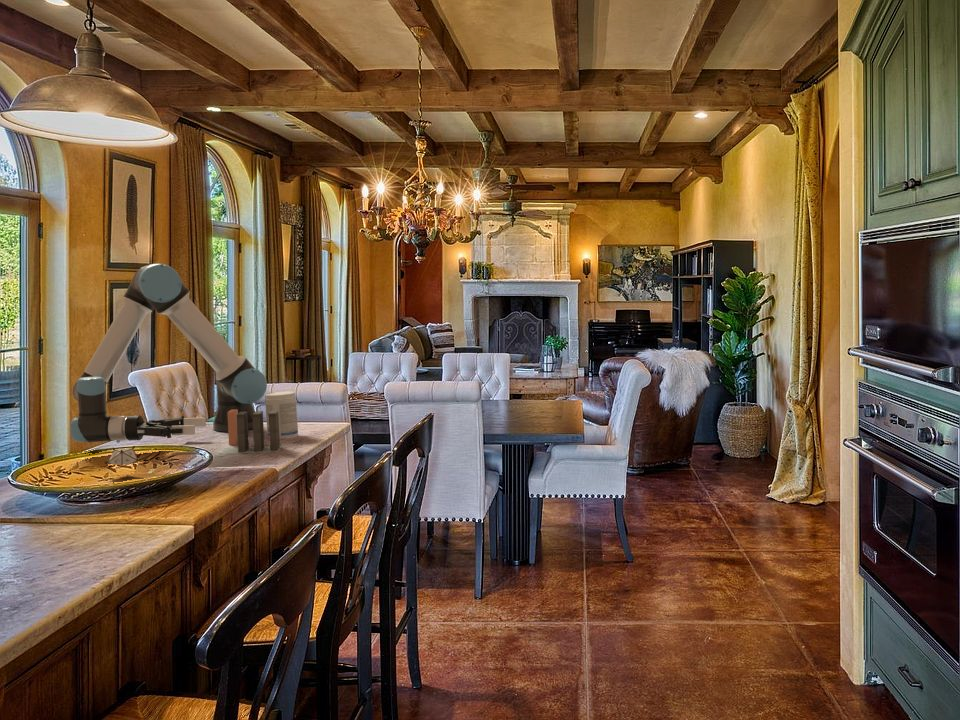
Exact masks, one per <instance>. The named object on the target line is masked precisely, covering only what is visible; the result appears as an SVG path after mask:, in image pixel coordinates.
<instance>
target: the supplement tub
mask: <svg viewBox="0 0 960 720" xmlns="http://www.w3.org/2000/svg"><path fill="white" fill-rule="evenodd" d="M264 404H265V418H266V429H267V437H268V438H269V439H270V435H269V413H270V412H271V411H276V410H278V414H279V437H280V440H281V439H290V438H294V437H295V438H296V437H298V436H299V427H298V426H299V425H298V412H297V399H296V393H295V391H274V392H268V393H265V394H264Z"/></svg>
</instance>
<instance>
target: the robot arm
mask: <svg viewBox="0 0 960 720" xmlns="http://www.w3.org/2000/svg"><path fill="white" fill-rule="evenodd" d="M125 291H126V292H125V293H124V295H123V297H122V300H123V304H122V306H121V307H120V309H119V311H118V312H117V314H116V315H115V317H114V319H113V321H112V322H111V324H110V326H109V328H108V329H107V330H106V333H105V335H104V336H103V338H102V340H101V342H100V343H99V345H98V346H97V348H96V350H95V352H94V354H93V355H92V357H91V359H90V360H89V362H88V364H87V365H86V367H85V369H84V370H83V373H82V374H81V376H80V378H78V379H77V380H76V381H75V383H74V384H73V387H72V396H73V397H74V399H75V401H77V405H78V406H77V407H78V416H77V417H74V418H72V420H71V422H70V428H69V433H70V436H71V439H72V440H73V441H74V442H78V443H80V442H81V443H96V442H97V443H98V442H115V441H116V443H118V444H119V443H120V442H121V441H122V442H123V441H141V440H142V439H143V437H144V436H146V437H161V438H167V439H171V438H172V436H188V435H189V436H190V435H194V436H195V435H196V428H197V427H201V428H202V427H206V426H207V421H206V420H207V419H206V417H186V418H185V415H181V417H174V418H173V417H172V418H161V419H150V420H148V421H146V422H145V421H144V418H143V416H142V415H128V416H127V415H111V416H108V415H107V397H106V396H107V395H106V392H107V391H106V390H107V387H106V386H107V384H108V382H109V381H110V378H111V376H112V375H113V373H114V372H115V370H116V368H117V366H118V365H119V363H120V361H121V360H122V357H123V356H124V354H125V353H126V351H127V349H128V348H129V346H130V345H131V343H132V341H133V339H134V337H135V336H136V333H138V330H139V328H140V327H141V325H142V323H143V321H144V320H145V318H146V316H147V315H148V314H150V313H153V311H154V310H155V311H156V312H157V313H158V315H165V316H167V318H168V319H169V320H171V322H172V323H173V325H175V327H177V329H178V330H179V331H180V332H181V333H182V335H183V336H184V337H185V338H186V339H187V340H188V342H190V343H191V345H192V346H193V347H194V348H195V349H196V351H197V352H198V353H199V354H200V355H201V356H202V357H203V359H204V360H205V361H206V362H207V363H208V364H209V365H210V367H211V368H212V369H213V370H214V371H215V380H216V382H215V383H216V399H217V400H216V401H217V407H216V411H215V414H214V415H215V416H214V419H213V424H212V425H213V426H212V427H213V430H214V431H217V432H228V413H227V412H229V411H230V410H231V409H238V413H239V412H247V418H248V431H250V430H253V413H254V412H256V411H255V408H254V403H257V402H258V401H260V400H261V399H262V398H263V397H265V394H266V392H267V388H268V382H267V379H266V376H265V375H264V373H263V372H262V371H260V370H259V369H256V368H255V367H254V365H253V364H252V363H251V362H250V361H249V360H248V358H246V356H245V355H244V356H242V355H238V354H237V353H236V352H235V351H234V350H233V348H232V346H230V344H228V342H227V341H226V340H225V339H224V338H223V336H222V335H221V334H220V333H219V332H218V331H217V329H216V328H215V327H214V326H213V325H212V323H211V322H210V321H209V320H208V318H207V317H206V316H205V315H204V314H203V313H202V312H201V310H200V309H199V308H198V307H197V306H196V304H194V302H193V301H192V300H191V298H190V293H191V291H190V290H189V288H188V287H187V286H186V285H185V284H184V283H183V281H182V279H181V277H180V274H179V273H178V272H177V271H176V270H175V268H173V267H171V266H169V265H168V264H165V263H161V262H158V263H157V262H156V263H151V264H148V265H147V264H146V265H144V266H142V267H139V269H138V270H137V271H135V273H134V275H133V277H132V279H131V280H130V283H129V285H128V287H127V290H125Z"/></svg>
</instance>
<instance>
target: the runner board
mask: <svg viewBox="0 0 960 720" xmlns="http://www.w3.org/2000/svg"><path fill="white" fill-rule="evenodd" d="M282 447H283V445H280V447H279V449H278V450H277V451H270V445H269V446H264V449H263V450H262V451H260V452H254V446H252V447H251V446H249V449H248V450H247V451H246V452H238V447H226V448H224V449H223V450H222V451H221V452H220V453H219V455H232V454H234V455H236V454H259V453H275V452H276V453H278V452H280V450H281V448H282Z"/></svg>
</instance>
